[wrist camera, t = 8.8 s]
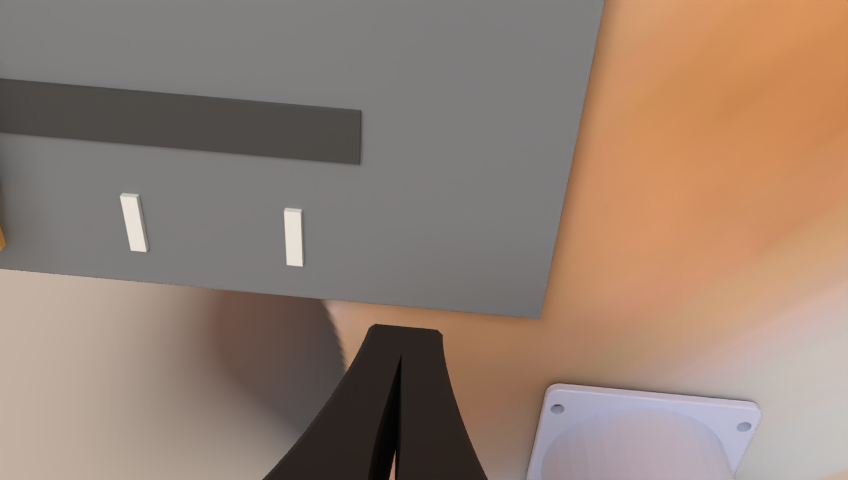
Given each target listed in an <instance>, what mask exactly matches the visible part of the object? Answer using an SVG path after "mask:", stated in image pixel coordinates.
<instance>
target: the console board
mask: <svg viewBox="0 0 848 480" xmlns="http://www.w3.org/2000/svg"><path fill="white" fill-rule="evenodd" d="M604 2H605V0H0V269H9V270H20V271H30V272H41V273H52V274H62V275H73V276H85V277H94V278H105V279H116V280H127V281H137V282H148V283H159V284H169V285H180V286H190V287H201V288H212V289H222V290H234V291H244V292H254V293H265V294H276V295H287V296H298V297H308V298H318V299H329V300H340V301H350V302H361V303H372V304H382V305H393V306H404V307H414V308H425V309H436V310H446V311H457V312H468V313H478V314H489V315H500V316H510V317H521V318H532V319H540V317H541V312H542V307H543V302H544V297H545V292H546V287H547V282H548V277H549V272H550V267H551V263H552V258H553V253H554V248H555V243H556V238H557V233H558V228H559V223H560V218H561V213H562V208H563V203H564V199H565V194H566V189H567V184H568V179H569V174H570V169H571V164H572V159H573V154H574V149H575V144H576V140H577V135H578V130H579V125H580V120H581V115H582V110H583V105H584V100H585V95H586V90H587V85H588V81H589V76H590V71H591V66H592V61H593V56H594V51H595V46H596V41H597V36H598V31H599V26H600V22H601V17H602V12H603V7H604Z"/></svg>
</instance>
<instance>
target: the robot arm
mask: <svg viewBox="0 0 848 480" xmlns="http://www.w3.org/2000/svg"><path fill="white" fill-rule="evenodd" d="M555 404H560V406H553V405H555ZM761 418H762V413H761V411H760V409H759V406H758V405H757V404H756V403H754V402H749V401H739V400H729V399H718V398H708V397H697V396H687V395H676V394H666V393H655V392H645V391H634V390H624V389H613V388H603V387H592V386H582V385H572V384H554V385H551V386H550V387H548V388H547V390H546V392H545V397H544V401H543V405H542V410H541V414H540V419H539V423H538V428H537V432H536V436H535V441H534V445H533V450H532V454H531V459H530V463H529V467H528V472H527V476H526V480H735V478H734V474H735V472H736V470H737V468H738V466H739V464H740V462H741V460H742V458H743V456H744V454H745V451H746V449H747V447H748V445H749V443H750V441H751V439H752V437H753V435H754V433H755V431H756V429H757V426H758V424H759V422H760V420H761ZM743 422H745V423H743ZM740 423H743V424H740ZM395 450H396V453H395ZM394 454H395V480H488V479H487V477H486V475H485V473H484V471H483V469H482V467H481V465H480V462H479V460H478V458H477V456H476V453H475V451H474V449H473V446H472V444H471V441H470V439H469V436H468V434H467V431H466V429H465V426H464V423H463V421H462V418H461V415H460V412H459V409H458V406H457V403H456V400H455V397H454V394H453V390H452V387H451V383H450V379H449V375H448V371H447V367H446V362H445V357H444V350H443V335H442V334H441V333H440V332H439V331H438V330H433V329H423V328H412V327H402V326H391V325H380V324H374V325H373V326H371V327H370V328H369V329H368V332H367V334H366V337H365V339H364V341H363V343H362V345H361V347H360V349H359V351H358V353H357V355H356V357H355V359H354V360H353V362H352V364H351V366H350V367H349V369H348V371H347V372H346V374H345V376H344V377H343V379H342V380H341V382H340V383H339V385H338V386H337V388H336V389H335V391H334V392H333V394H332V396H331V397H330V399H329V400H328V401H327V403H326V405H325V406H324V407H323V408H322V410H321V411H320V412H319V414H318V415H317V416H316V418H315V419H314V420H313V422H312V423H311V424H310V426H309V427H308V428H307V430H306V431H305V432H304V434H303V435H302V436H301V437H300V438H299V440H298V441H297V442H296V443H295V444H294V446H293V447H292V448H291V449H290V450H289V451H288V453H287V454H286V455H285V456H284V457H283V458H282V459H281V460H280V462H279V463H278V464H277V465H276V466H275V467H274V468H273V469H272V470H271V471H270V472H269V474H268V475H266V476H265V478H264V479H263V480H389V477H390V473H391V468H392V464H393V459H394Z"/></svg>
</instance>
